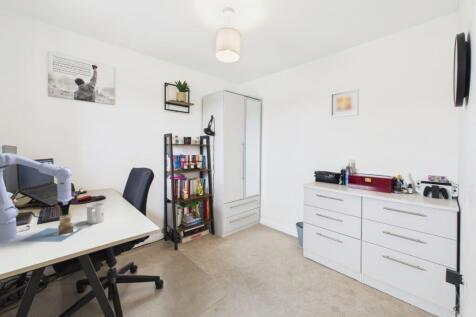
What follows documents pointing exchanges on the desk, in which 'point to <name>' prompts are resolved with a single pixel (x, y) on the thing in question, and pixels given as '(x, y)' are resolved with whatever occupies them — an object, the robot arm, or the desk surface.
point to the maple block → (65, 221)
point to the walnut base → (65, 230)
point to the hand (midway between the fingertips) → (65, 214)
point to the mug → (95, 213)
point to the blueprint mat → (49, 235)
